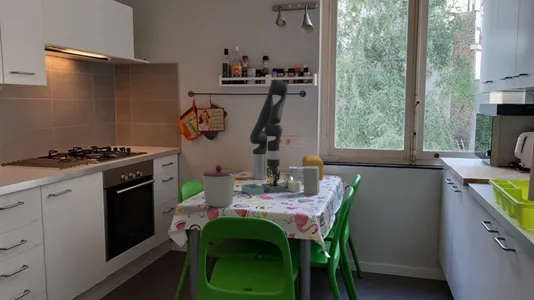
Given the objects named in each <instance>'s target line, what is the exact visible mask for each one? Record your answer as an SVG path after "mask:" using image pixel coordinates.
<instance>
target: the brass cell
mask: <svg viewBox="0 0 534 300" xmlns="http://www.w3.org/2000/svg"><path fill="white" fill-rule="evenodd" d="M274 178H275V177H274ZM268 180H269V181H268V183H269V186H271V187H273V177H272V176H270V177H269V178H268Z"/></svg>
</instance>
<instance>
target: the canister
mask: <svg viewBox="0 0 534 300" xmlns="http://www.w3.org/2000/svg"><path fill="white" fill-rule="evenodd" d="M236 175H237V173H236V172H234V171H233V170H231V169H230V170H229V169H223V166H222V165H221V164H216V165H215V167H214V169H208V170H205V171H203V172H202V173H201V174H200V176H201V177H202V185H203V193H204V194H203V195H204V200H205V203H206V205H207V206H208V205H209V206H208V207H210V206H213V207H212V208H225V207H229V206H231V204H232V202H233V198H234V192H235V191H234V190H235V181H236Z"/></svg>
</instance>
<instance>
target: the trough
mask: <svg viewBox="0 0 534 300" xmlns="http://www.w3.org/2000/svg"><path fill="white" fill-rule="evenodd" d="M241 191H242V192H243V191H244V193H245V192H246V193H245V194H247V193H248V194H247V195H249V196H256V195H255V194H257V195H264V193H265V191H264V188H263V187H262V185H259V184H256V183H248V184H241Z"/></svg>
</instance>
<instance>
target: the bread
mask: <svg viewBox="0 0 534 300" xmlns="http://www.w3.org/2000/svg"><path fill="white" fill-rule="evenodd" d="M301 163H302V164H301V165H302V166H301V167H306V166H312V167H319V181H323V179H324V161H323V160H322V159H321V158H320V157H319V155H316V154H315V155H314V154H307V155H305V156H303V157H302V159H301Z"/></svg>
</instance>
